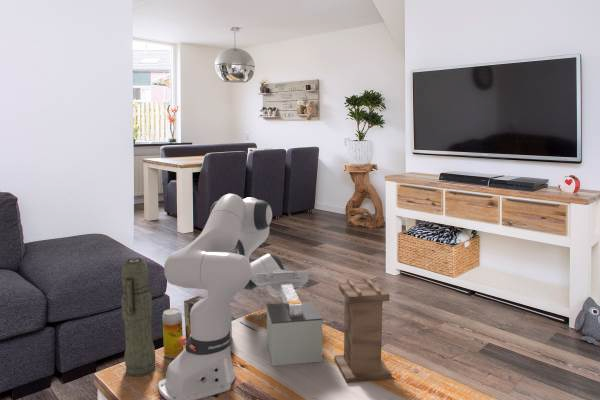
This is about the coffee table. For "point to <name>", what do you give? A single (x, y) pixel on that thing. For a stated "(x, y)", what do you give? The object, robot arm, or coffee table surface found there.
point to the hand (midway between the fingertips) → (284, 273)
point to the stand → (362, 332)
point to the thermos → (137, 318)
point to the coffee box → (187, 308)
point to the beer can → (172, 332)
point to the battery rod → (291, 301)
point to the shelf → (294, 335)
